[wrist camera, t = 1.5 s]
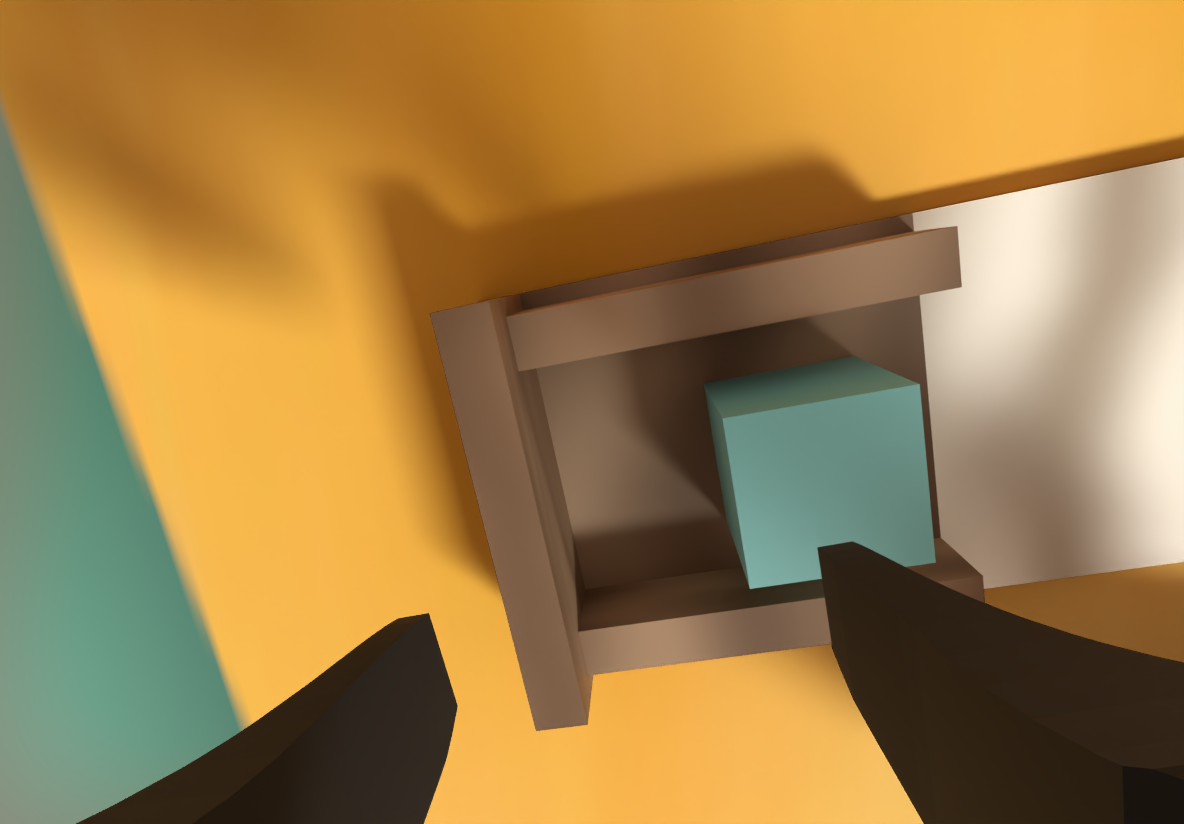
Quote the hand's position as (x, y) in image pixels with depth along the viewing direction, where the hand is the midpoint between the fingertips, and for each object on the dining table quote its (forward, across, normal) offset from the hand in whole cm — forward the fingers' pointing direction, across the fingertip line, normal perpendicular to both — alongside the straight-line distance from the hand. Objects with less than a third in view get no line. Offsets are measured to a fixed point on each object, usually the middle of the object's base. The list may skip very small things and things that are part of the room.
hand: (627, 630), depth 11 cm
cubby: (+9, -7, 0) cm, 12 cm away
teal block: (+9, -5, 0) cm, 10 cm away
